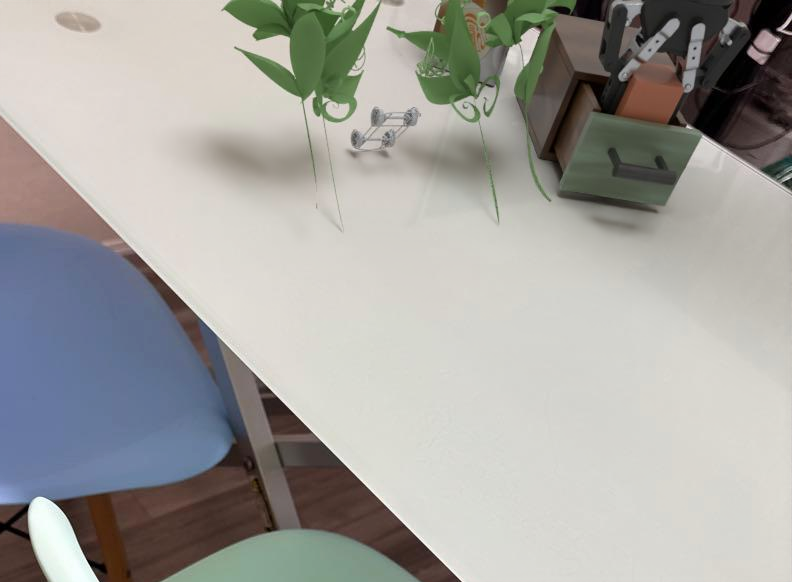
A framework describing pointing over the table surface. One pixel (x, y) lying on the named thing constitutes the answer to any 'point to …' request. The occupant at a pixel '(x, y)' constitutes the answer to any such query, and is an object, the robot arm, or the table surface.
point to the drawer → (620, 151)
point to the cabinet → (569, 75)
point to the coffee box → (479, 35)
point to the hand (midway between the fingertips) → (633, 117)
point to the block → (651, 94)
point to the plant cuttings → (341, 46)
